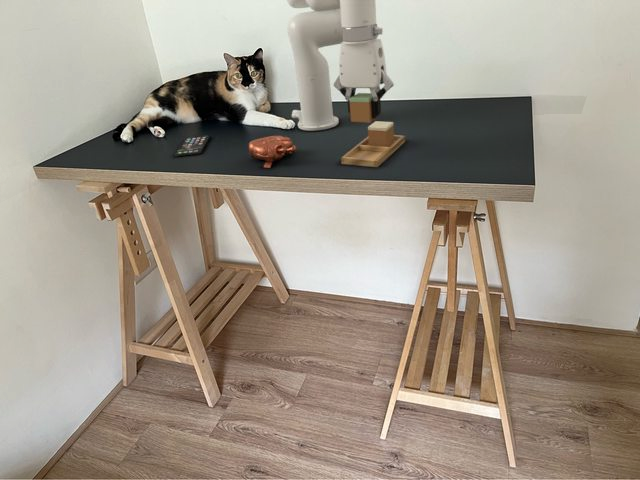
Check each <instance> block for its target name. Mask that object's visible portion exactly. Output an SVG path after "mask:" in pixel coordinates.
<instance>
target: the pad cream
mask: <svg viewBox="0 0 640 480" xmlns="http://www.w3.org/2000/svg"><path fill="white" fill-rule="evenodd" d="M394 131H395V128H394V121H376V120H374V121H373V123H371V124H370V125H368V126H367V137H368V138H369V145H370V146H382V147H390V146H391V145H392V144H393V143H394V135H395V132H394Z"/></svg>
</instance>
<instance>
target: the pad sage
mask: <svg viewBox="0 0 640 480" xmlns="http://www.w3.org/2000/svg"><path fill="white" fill-rule="evenodd" d="M349 101H350V113H349V116H350V115H351V118H350V122H352V123H372V122H374V121H376V119H377V118H379V117H380V115H379V116H378V117H376V118H375V119H373V118H372V110H371V102H372V101H373V98H372V95H371V92H358V93H355V95H354V96H353V97H351V98H349Z"/></svg>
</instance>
